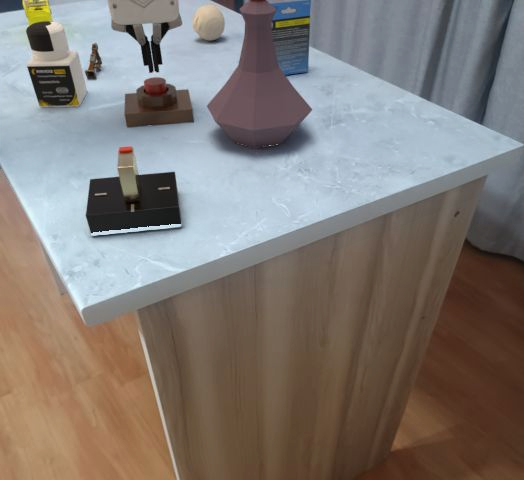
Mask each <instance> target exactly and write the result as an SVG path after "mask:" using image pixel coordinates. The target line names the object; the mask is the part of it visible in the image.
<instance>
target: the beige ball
mask: <svg viewBox="0 0 524 480" xmlns="http://www.w3.org/2000/svg"><path fill="white" fill-rule="evenodd" d="M191 24H192V29H193V31H194V32H195V33H196V34H197V35H198V36H199V37H200V38H201V39H203V40H204V41H205V40H206V41H215V40H218V39H219V38H220V37H221V36H222V35H223V33H224V31H225V27H226V22H225V16H224V14H223V12H222V10H221V9H220V8H219V7H218V6H215V5H213V4H204V5H201V6H200V7H199V8H198V9H197V10H196V12H195V13H194V14H193V17H192V22H191Z"/></svg>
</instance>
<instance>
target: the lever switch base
mask: <svg viewBox="0 0 524 480" xmlns="http://www.w3.org/2000/svg"><path fill="white" fill-rule="evenodd" d="M176 175H177V174H176V171H169V172H168V171H166V172H155V173H143V174H139V179H140V201H137V202H126V203H125V201H124V196H123V192H122V187H121V183H120V178H119V176H110V177H99V178H89V185H88V193H87V194H88V195H87V202H86V211H85V219H86V221H87V222H86V223H87V225H88V229H89V232H90V234H91V233H93V232H99V231H100V232H102V231H109V230H121V229H130V228H138V227H147V226H148V227H149V226H160V225H169V224H170V225H171V224H181V223H182V215H181V206H180V199H179V191H178V190H179V189H178V183H177V176H176ZM179 206H180V207H179Z"/></svg>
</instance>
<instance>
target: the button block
mask: <svg viewBox="0 0 524 480" xmlns="http://www.w3.org/2000/svg"><path fill="white" fill-rule="evenodd" d="M166 86H167V92H166V93H163V94H157V95H151V94H146V93H145V87H144V84H143V85H141V86H139V87H138V88H137V89H135V90H136V91H135V92H131V93H124V119H125V125H126V128H136V127H137V128H138V126H139V127H149V126H148V125H152V126H163V125H175V124H190V123H194V122H195V121H194V111H193V105H192V99H191V95H190V91H189V89H187V88H186V89H177V87H176V86H175V85H174V84H171V83H166Z"/></svg>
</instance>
